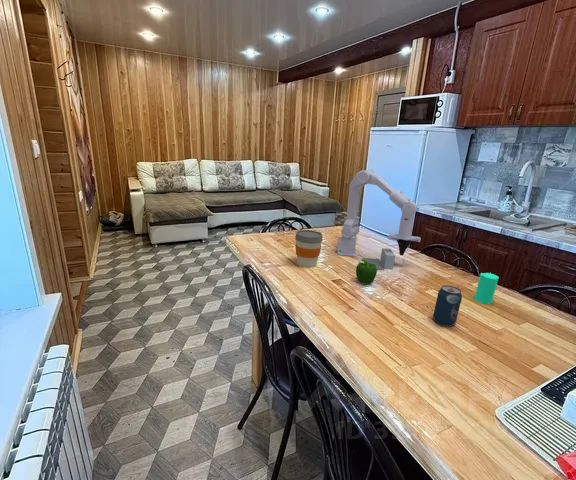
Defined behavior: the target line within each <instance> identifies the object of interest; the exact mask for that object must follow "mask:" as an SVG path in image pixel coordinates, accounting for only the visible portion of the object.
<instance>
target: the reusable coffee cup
mask: <svg viewBox="0 0 576 480" xmlns="http://www.w3.org/2000/svg"><path fill="white" fill-rule="evenodd" d="M294 239H295V244H294V245H295V254H296V261H297V263H296V264H297V266H300V267H302V268H306V269H307V268H308V269H310V268H314V267H316V266H317V264H318V263H317V262H318V259H319V256H320V255H321V250H322V242H323V233H322V232H320V231H317V230H311V229H301V230H298V231H296V232H295V238H294Z"/></svg>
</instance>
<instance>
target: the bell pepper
mask: <svg viewBox="0 0 576 480" xmlns="http://www.w3.org/2000/svg"><path fill="white" fill-rule="evenodd" d="M360 260H361V261H360V262H358V264H357V265H356V267H355V276H356V280H357V282H358V283H363V284H364V285H372V283H373V282H374V281H375V279H376V276H377V273H378V270H377V268H376V265H375V264H371V263H369V262H368V261H367V260H366V259H360ZM364 261H365V263H364Z"/></svg>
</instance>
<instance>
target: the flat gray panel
mask: <svg viewBox="0 0 576 480" xmlns="http://www.w3.org/2000/svg"><path fill="white" fill-rule="evenodd" d="M362 259H366V260H367V261H368V262H369V263H371V264H375V265H376V268H377V271H384V270H385V269H384V267H383V266H382V264H381V262H380V260H379V258H372V257H371V258H369V257H362ZM363 263H365V261H363Z"/></svg>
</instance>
